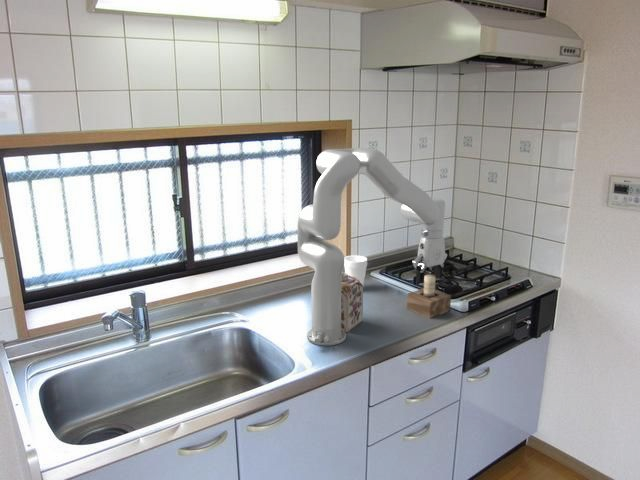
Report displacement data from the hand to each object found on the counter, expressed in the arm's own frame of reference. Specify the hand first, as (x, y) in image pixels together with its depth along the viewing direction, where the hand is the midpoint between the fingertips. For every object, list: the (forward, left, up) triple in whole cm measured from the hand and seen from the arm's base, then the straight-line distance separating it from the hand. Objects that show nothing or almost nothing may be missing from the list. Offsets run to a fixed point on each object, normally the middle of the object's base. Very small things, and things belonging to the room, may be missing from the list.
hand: (428, 279), depth 187 cm
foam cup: (+17, +29, -12) cm, 36 cm away
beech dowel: (0, 0, -11) cm, 11 cm away
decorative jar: (-17, +30, -12) cm, 36 cm away
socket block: (0, 0, -12) cm, 12 cm away
